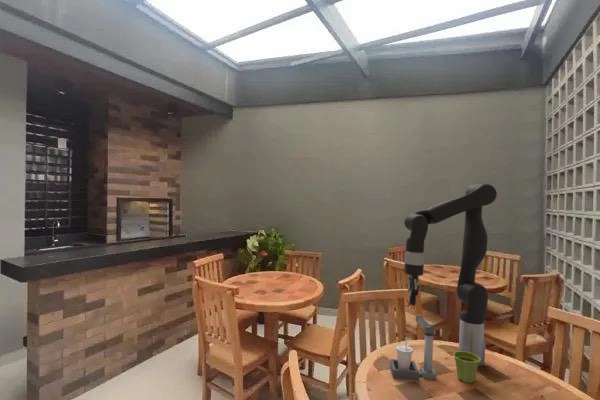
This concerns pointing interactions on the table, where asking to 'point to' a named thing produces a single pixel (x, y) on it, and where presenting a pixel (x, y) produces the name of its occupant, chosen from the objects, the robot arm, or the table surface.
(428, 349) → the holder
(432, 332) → the joystick lever
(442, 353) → the table surface
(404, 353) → the smoothie
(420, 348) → the table surface
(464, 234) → the robot arm
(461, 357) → the plant pot
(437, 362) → the table surface
